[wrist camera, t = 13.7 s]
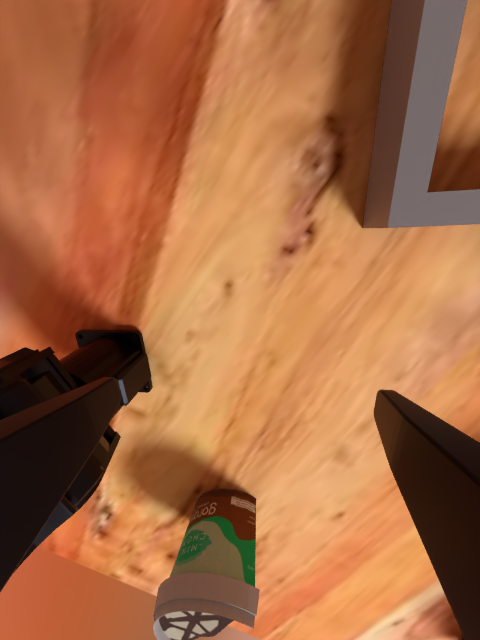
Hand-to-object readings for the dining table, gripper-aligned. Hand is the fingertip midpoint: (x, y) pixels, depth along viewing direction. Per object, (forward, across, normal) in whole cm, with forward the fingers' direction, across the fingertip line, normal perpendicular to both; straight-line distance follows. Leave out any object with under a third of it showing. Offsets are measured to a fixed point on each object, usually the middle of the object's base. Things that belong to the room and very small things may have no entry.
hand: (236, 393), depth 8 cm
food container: (+12, +6, +26) cm, 30 cm away
